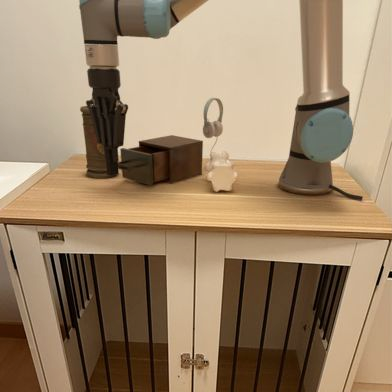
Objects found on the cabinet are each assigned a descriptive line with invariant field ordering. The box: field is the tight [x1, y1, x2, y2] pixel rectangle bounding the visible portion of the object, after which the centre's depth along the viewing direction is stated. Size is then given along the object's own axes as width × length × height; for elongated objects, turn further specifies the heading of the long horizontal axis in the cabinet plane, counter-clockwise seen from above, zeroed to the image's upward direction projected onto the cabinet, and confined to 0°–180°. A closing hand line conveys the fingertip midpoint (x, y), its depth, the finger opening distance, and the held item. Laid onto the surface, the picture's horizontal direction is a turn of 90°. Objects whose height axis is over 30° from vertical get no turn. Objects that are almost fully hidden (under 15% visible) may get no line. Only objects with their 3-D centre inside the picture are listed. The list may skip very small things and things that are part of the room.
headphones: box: [202, 97, 224, 152], centre depth 128 cm, size 8×4×20 cm, turn 139°
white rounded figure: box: [204, 150, 239, 193], centre depth 116 cm, size 15×9×8 cm, turn 2°
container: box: [79, 105, 117, 179], centre depth 120 cm, size 9×9×18 cm
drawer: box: [118, 145, 169, 186], centre depth 117 cm, size 20×11×8 cm, turn 141°
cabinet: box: [138, 134, 204, 184], centre depth 124 cm, size 15×13×10 cm
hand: (113, 174), depth 110 cm, fingers closed
